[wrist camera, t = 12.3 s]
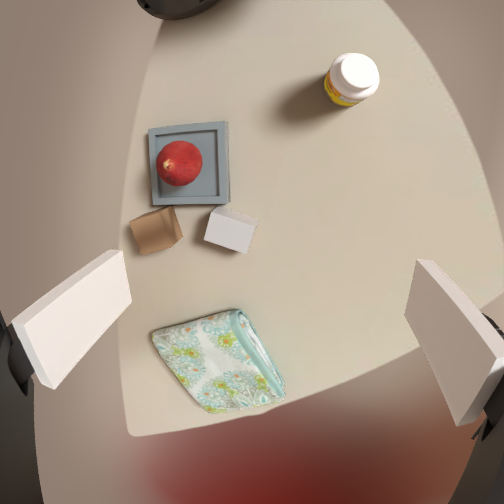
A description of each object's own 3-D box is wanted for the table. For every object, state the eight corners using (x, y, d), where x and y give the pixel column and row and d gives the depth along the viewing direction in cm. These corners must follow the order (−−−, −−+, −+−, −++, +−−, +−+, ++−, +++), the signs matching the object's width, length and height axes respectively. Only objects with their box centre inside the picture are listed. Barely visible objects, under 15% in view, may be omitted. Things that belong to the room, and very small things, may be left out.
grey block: (218, 205, 41) (211, 211, 37) (259, 218, 41) (255, 226, 37) (211, 231, 43) (203, 239, 39) (250, 244, 43) (246, 254, 39)
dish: (153, 129, 38) (148, 129, 36) (227, 122, 37) (224, 121, 35) (158, 202, 42) (153, 205, 40) (230, 201, 40) (227, 203, 39)
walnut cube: (145, 213, 43) (129, 222, 38) (172, 204, 42) (158, 212, 37) (155, 243, 45) (141, 255, 40) (183, 236, 43) (170, 247, 39)
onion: (201, 188, 39) (180, 198, 32) (164, 174, 39) (137, 182, 32) (215, 148, 37) (196, 149, 30) (177, 135, 37) (151, 134, 30)
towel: (210, 402, 57) (204, 420, 52) (155, 326, 51) (143, 342, 46) (290, 387, 52) (289, 406, 47) (242, 298, 46) (236, 316, 41)
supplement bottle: (326, 65, 32) (336, 40, 23) (366, 75, 32) (388, 54, 22) (319, 102, 34) (329, 87, 25) (360, 112, 34) (382, 102, 24)
